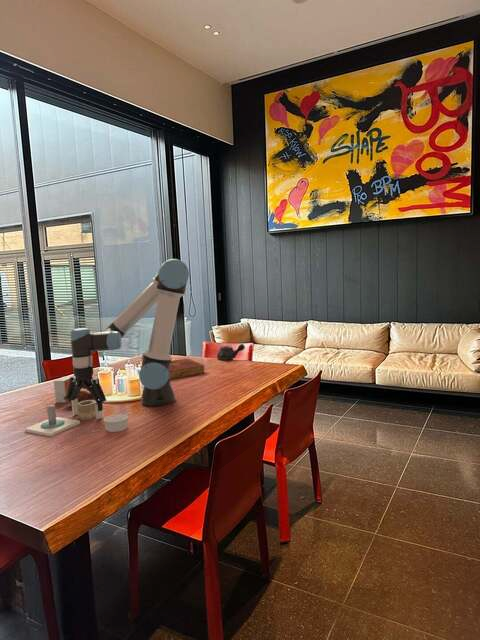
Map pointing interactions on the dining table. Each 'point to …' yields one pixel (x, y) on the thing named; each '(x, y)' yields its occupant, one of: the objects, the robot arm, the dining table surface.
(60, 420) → the post stand
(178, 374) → the book
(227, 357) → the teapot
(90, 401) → the maple ring
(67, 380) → the small box
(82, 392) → the fossil
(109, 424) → the ramekin
